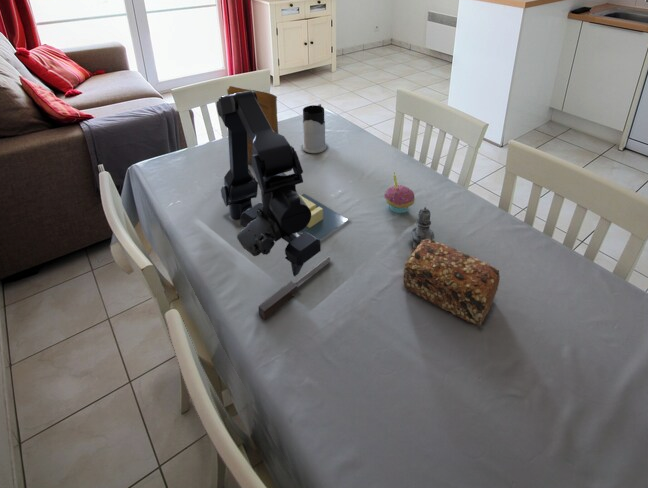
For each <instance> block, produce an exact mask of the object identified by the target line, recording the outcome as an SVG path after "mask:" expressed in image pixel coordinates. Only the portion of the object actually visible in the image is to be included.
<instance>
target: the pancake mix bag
mask: <svg viewBox="0 0 648 488" xmlns="http://www.w3.org/2000/svg"><path fill="white" fill-rule="evenodd" d="M245 91H255V93H256V95H257V99H258V104H259V105H260V107H261V109H262V111H263V113H264V115H265V116H266V118H267V120H268V122H269V124H270V126H271V127H272V129H273V131H274V132H275V133H278V134H279V121H278V103H277V101H278V96H276V95H275V94H273V93H269V92H265V91H260V90H254V89H247V88H242V87H241V88H240V87H236V86H233V85H229V87H226V93H227V95H231V94H234V93H239V92H245ZM247 134H248V133H247ZM252 155H253V144H252V142H251V140H250V138H249V136H248V165H251V166H252V159H251V158H252Z"/></svg>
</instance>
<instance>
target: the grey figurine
mask: <svg viewBox="0 0 648 488" xmlns="http://www.w3.org/2000/svg"><path fill="white" fill-rule="evenodd" d="M416 224H417V225H416V227H414V228H413V229H412V230H410V231H411V232H410V235H411V238H412V241H411V244H410V245H411V248H412V250H413V249H414V248H415V247H416V246H418V245H419V244H420V242H421V241H422V240H425V239H431V240H434V239H435V233H434V231H433V230H432V229H431V228H430V226H431V225H432V221H431V211H430V210H429V208H427V207H426V206H424V207H423V208H420V209H419V210H418V218H417V219H416Z"/></svg>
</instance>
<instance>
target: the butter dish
mask: <svg viewBox="0 0 648 488" xmlns="http://www.w3.org/2000/svg"><path fill="white" fill-rule="evenodd" d="M300 195H301V196H302V197H304V198H306V199H307V200H309V201H311V202H312V203H314V204H316V208H317V207H321V208H323V219H322V220H321V221H319V222H318V223H316V224H315V225H313V226H312V227H310V228H309V227H307V226H306V227H305V228H304V229H303V230H301V231H300V233H301V234H302V233H304V232H307V233H309V234H311V235H313V236H314V237H316V238H317V239H319V240H320V241H321V240H323V238H325V237H327V236H328V235H329V234H331V233H332V232H333V231H335V230H336V229H338V228H339V227H341V226H342V225H343V224H345V223H346V222H347V221H348V220H349V219H348V218H346V217H345V216H343V215H341V214H340V213H338V212H337V211H334V210H333V209H331V208H330V207H327V206H326V205H325V204H323V203H321V202H319V201H318V200H316V199H314V198H312V197H311V196H309V195H307V194H306V193H302V194H300Z"/></svg>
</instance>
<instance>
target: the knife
mask: <svg viewBox="0 0 648 488" xmlns="http://www.w3.org/2000/svg"><path fill="white" fill-rule="evenodd" d="M329 263H331V256H329V255H328V256H327V257H325V258H324V259H323V260H322V261H320V262H319V263H318V264H316V265H314V267H313V268H311V269H310V270H308V271H307V272H306V273H305V274H303V275H302V276H301V277H300V278H298V279H297V280H295V281H294V282H293V281H292V280H291V281H289V282H288V283H287V284H285V285H284V286H283V287H281V288H280V289H279V290H278V291H276V292H275V293H273V294H272V295H271V296H269V298H267V299H266V300H264V301H263V302H262V303H261V304H259V305H258V306H257V307H258V315H259V317H261V318H262V319H263V320H264V321H266V320H267V319H268V318H269V317H271V316H272V315H274V314H275V313H276V312H277V311H279V309H281V308H282V307H284V306H285V305H286V304H288V303H289V302H290V301H292V299H293V298H295V296H294V295H295V294H296V293H298V288H299V287H300V286H301V285H303V284H304V283H305V282H306V281H307V280H309V279H310V278H311V277H313V276H314V275H315V274H317V273H318V272H319V271H320V270H322V269H323V268H324V267H325V266H327V265H328V264H329Z"/></svg>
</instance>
